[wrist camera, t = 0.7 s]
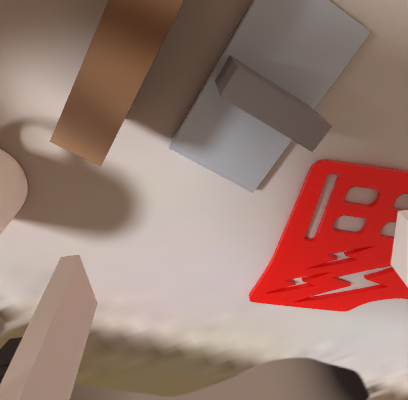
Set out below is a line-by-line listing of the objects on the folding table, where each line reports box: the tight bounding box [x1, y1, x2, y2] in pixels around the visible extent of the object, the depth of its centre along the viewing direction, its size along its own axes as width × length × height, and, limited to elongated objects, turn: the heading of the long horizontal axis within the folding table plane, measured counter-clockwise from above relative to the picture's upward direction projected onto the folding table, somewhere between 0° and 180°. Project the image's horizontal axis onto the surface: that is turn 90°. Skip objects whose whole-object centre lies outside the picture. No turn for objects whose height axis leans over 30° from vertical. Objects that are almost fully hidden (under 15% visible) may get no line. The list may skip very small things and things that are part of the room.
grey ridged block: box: [169, 0, 371, 192], centre depth 32 cm, size 10×18×7 cm, turn 149°
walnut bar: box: [50, 0, 184, 166], centre depth 26 cm, size 20×4×5 cm, turn 149°
